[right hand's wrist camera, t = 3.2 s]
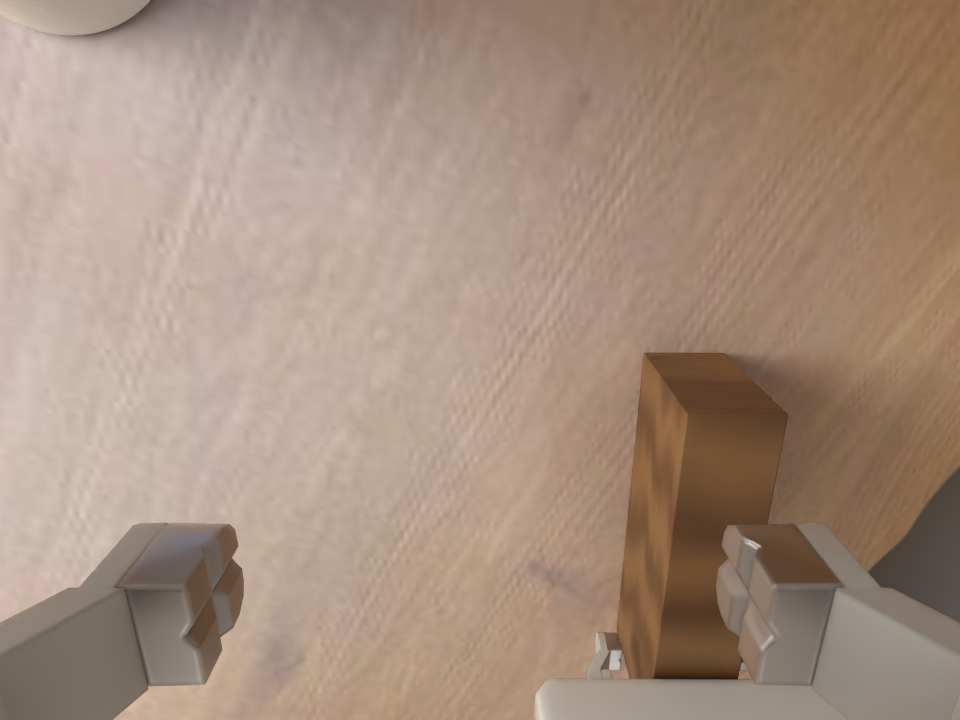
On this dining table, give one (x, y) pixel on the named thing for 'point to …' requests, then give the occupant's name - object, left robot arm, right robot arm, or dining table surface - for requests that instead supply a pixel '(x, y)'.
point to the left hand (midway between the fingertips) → (674, 639)
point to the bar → (691, 510)
